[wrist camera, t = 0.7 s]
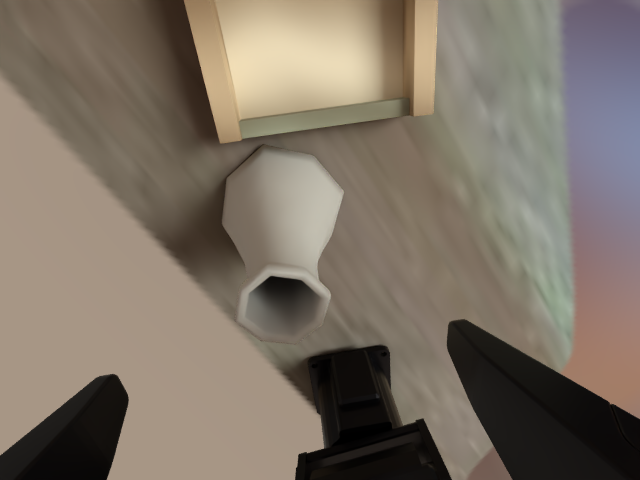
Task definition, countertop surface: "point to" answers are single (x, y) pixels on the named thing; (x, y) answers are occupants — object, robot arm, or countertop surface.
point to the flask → (281, 241)
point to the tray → (313, 62)
